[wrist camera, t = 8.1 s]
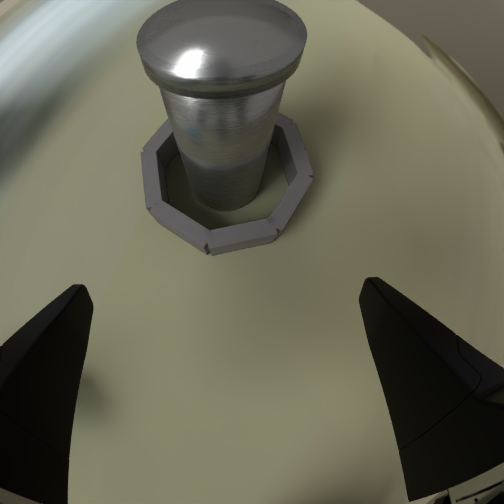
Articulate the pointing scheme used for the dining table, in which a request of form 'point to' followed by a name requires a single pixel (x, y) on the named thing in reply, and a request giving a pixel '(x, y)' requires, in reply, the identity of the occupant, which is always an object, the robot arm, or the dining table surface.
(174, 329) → the dining table surface
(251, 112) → the metal canister
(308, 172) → the collar
